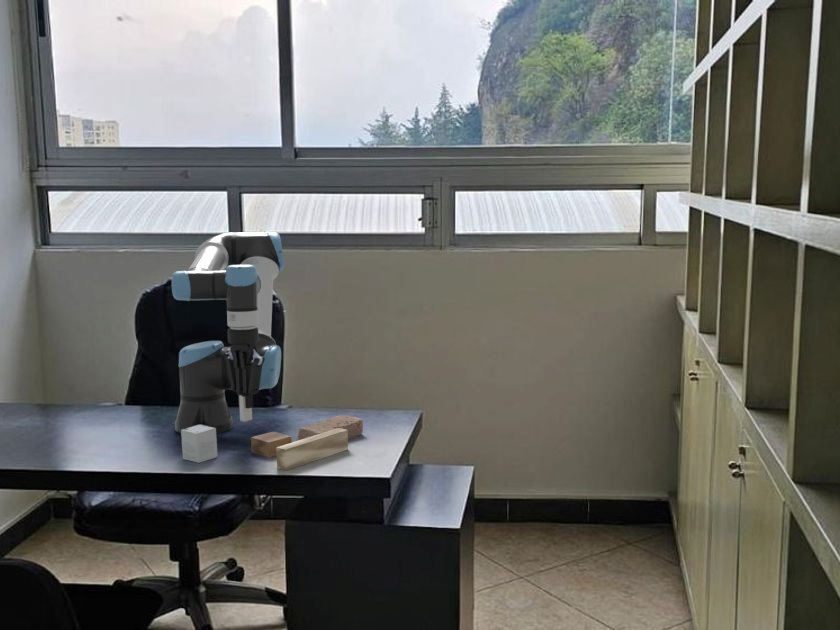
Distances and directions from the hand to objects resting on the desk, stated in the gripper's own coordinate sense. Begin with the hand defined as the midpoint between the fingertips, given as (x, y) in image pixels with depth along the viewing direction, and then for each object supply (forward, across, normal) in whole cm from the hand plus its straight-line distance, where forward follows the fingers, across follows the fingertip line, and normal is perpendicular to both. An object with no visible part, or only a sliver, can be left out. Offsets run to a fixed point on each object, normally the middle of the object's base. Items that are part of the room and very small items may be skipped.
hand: (246, 420), depth 223 cm
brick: (+7, +13, +17) cm, 23 cm away
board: (+7, +21, +2) cm, 22 cm away
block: (+7, +9, 0) cm, 11 cm away
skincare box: (+7, -1, -14) cm, 15 cm away
